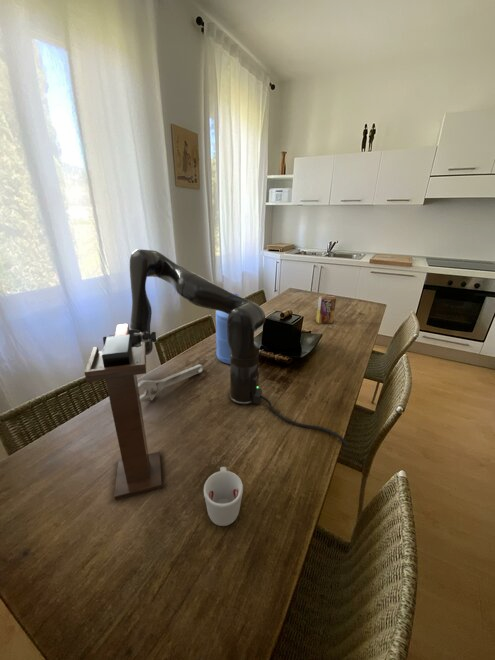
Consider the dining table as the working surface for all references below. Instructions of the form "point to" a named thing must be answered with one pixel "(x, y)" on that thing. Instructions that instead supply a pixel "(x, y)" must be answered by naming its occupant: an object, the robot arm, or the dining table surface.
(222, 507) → the cup
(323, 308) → the candy box
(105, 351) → the black and white bar
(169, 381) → the wrench
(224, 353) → the water jug
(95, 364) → the stand
